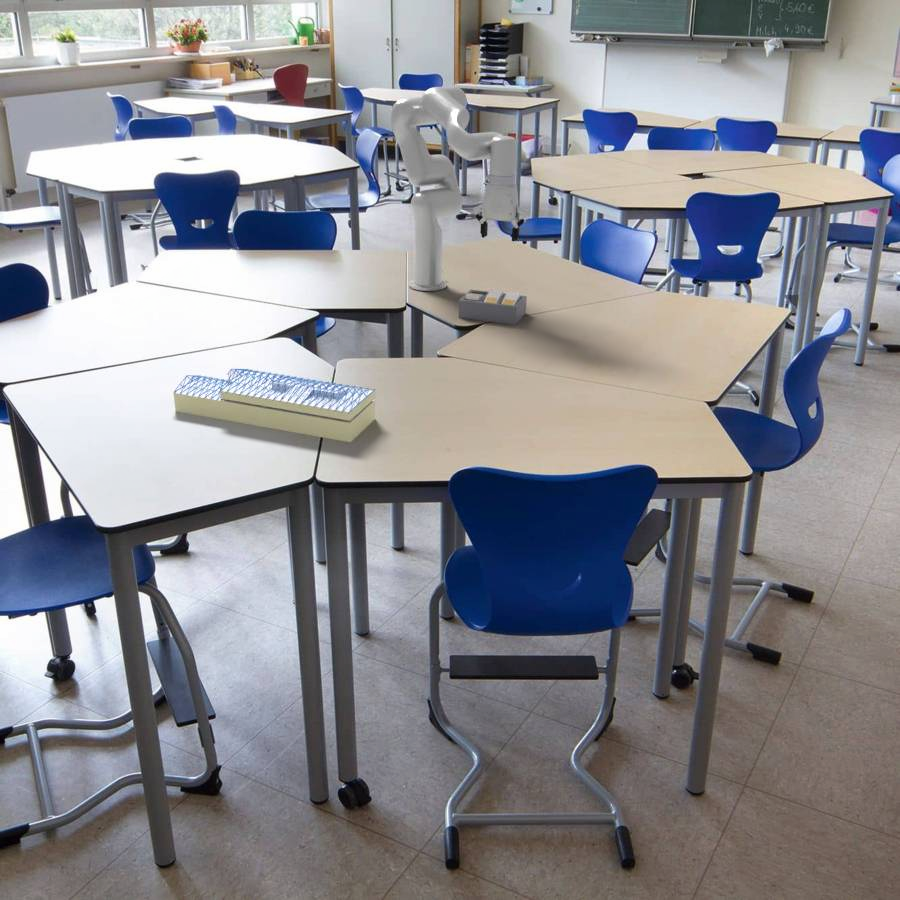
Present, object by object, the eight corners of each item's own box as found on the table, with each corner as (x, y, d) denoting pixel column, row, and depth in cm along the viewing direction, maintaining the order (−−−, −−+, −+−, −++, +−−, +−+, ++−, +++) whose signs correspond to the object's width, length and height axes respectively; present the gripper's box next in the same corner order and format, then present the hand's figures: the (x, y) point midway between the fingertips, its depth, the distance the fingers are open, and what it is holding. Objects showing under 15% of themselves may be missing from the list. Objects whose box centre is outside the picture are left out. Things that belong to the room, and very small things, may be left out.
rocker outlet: (507, 296, 301) (507, 291, 300) (520, 297, 300) (520, 292, 299) (500, 309, 295) (500, 304, 294) (513, 311, 294) (513, 306, 293)
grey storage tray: (470, 306, 308) (470, 289, 306) (525, 313, 304) (526, 296, 301) (458, 317, 298) (459, 300, 296) (515, 324, 293) (516, 307, 291)
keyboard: (376, 419, 229) (375, 378, 225) (349, 445, 216) (348, 401, 212) (208, 391, 242) (205, 351, 238) (174, 413, 230) (169, 372, 225)
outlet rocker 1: (473, 298, 305) (473, 293, 304) (485, 300, 304) (486, 294, 303) (465, 299, 297) (466, 293, 297) (478, 300, 296) (478, 294, 296)
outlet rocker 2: (490, 294, 302) (490, 289, 301) (502, 295, 301) (502, 290, 300) (483, 307, 297) (482, 302, 296) (495, 309, 296) (495, 304, 295)
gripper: (470, 179, 286) (468, 237, 294) (526, 185, 281) (522, 244, 288) (479, 175, 293) (476, 232, 300) (534, 181, 287) (530, 239, 294)
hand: (499, 238), depth 294 cm, fingers open, 9 cm apart
